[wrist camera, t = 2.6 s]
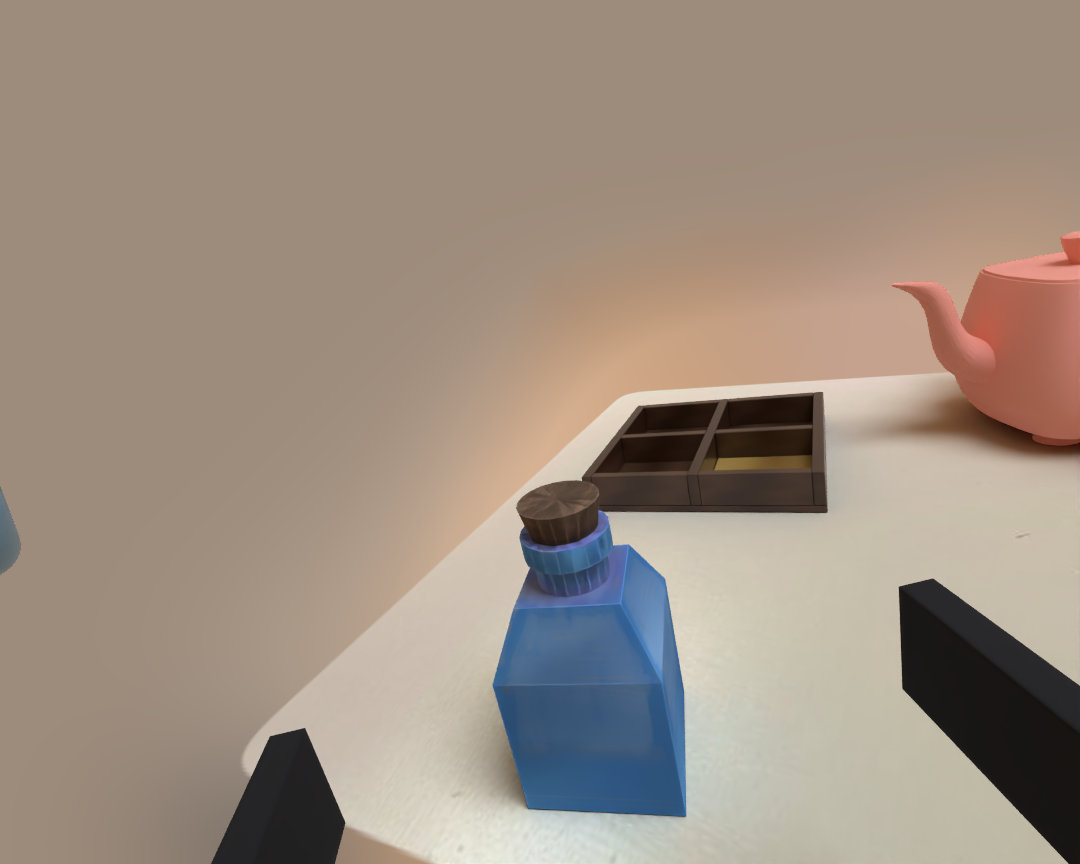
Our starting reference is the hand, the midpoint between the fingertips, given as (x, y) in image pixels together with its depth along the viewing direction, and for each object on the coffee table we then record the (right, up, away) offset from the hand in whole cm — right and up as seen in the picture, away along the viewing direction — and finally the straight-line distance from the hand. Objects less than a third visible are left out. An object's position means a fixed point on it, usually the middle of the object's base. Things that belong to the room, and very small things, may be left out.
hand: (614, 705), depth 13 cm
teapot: (+39, +7, +31) cm, 51 cm away
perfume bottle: (+2, -8, +13) cm, 15 cm away
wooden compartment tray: (+14, +3, +38) cm, 40 cm away
